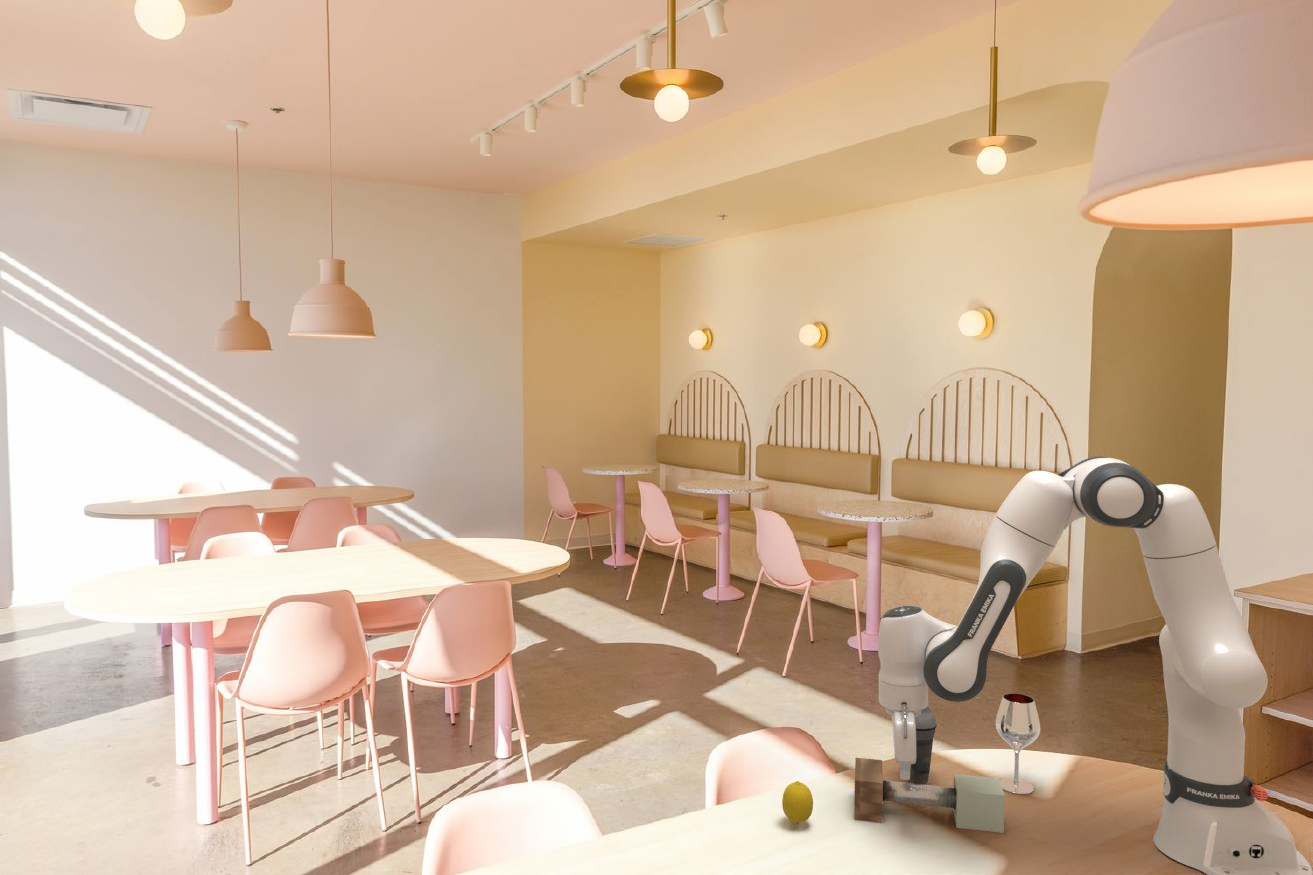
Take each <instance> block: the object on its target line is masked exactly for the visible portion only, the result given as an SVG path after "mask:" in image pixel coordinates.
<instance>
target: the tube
mask: <svg viewBox="0 0 1313 875" xmlns="http://www.w3.org/2000/svg"><path fill="white" fill-rule="evenodd" d="M956 797H957V793H956V788H953V787H949V786H941V785H933V784H931V785H930V784H914V783H911V782H903V781H902V782H901V781H893V780H892V781H891V780H884V779H883V802H890V803H899V804H908V805H915V806H917V805H918V806H927V807H934V808H935V807H936V808H943V809H952V810H953V809H956Z"/></svg>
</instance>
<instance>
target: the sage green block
mask: <svg viewBox="0 0 1313 875" xmlns="http://www.w3.org/2000/svg"><path fill="white" fill-rule="evenodd" d="M1000 781H1001V779H1000V778H999V777H989V776H981V775H971V774H962V773H953V787H952V788H956V793H957V797H956V809H952V811H953V817H954V823H955V826H956V827H955V828H957V829H965V830H974V831H982V832H991V833H1000V834H1004V833H1005V830H1004V829H1005V800H1006V798H1005V797H1006V796H1005V792H1004V790H1003V789H1002V786H1001V783H1000Z"/></svg>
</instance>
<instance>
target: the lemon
mask: <svg viewBox="0 0 1313 875" xmlns="http://www.w3.org/2000/svg"><path fill="white" fill-rule="evenodd" d="M782 794H783V795H782V799H781V800H782V802H781V803H782V804H781V805H782V806H781V807H782V810H783V813H784V815H785V817H786V818H787V819H788V820H789V821H791V822H793V823H795V825H800V824H802V823H804V822H806V821H807V820H809V818H810V817H811V816H812V814H813V808H814V801H813V800H814V799H813V795H812V792H811V790H810V787H808V786H807V785H806V784H805V783H803V782H800V781H799V780H796V781H794V782H791V783H790V784H788V785H787V786H786V787H785V789H784V791H783V793H782Z"/></svg>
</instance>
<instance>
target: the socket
mask: <svg viewBox="0 0 1313 875" xmlns="http://www.w3.org/2000/svg"><path fill="white" fill-rule="evenodd" d="M883 771H884V770H883V760H882V759H874V758H863V757H855V764H854V804H853V805H854V807H853V810H854V811H853V818H854V819H853V820H854V821H859V822H860V821H861V822H868V823H877V824H883V808H884V807H883V805H884V804H883V802H884V801H883V780H884V778H883V777H884V775H883V773H884V772H883Z"/></svg>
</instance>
